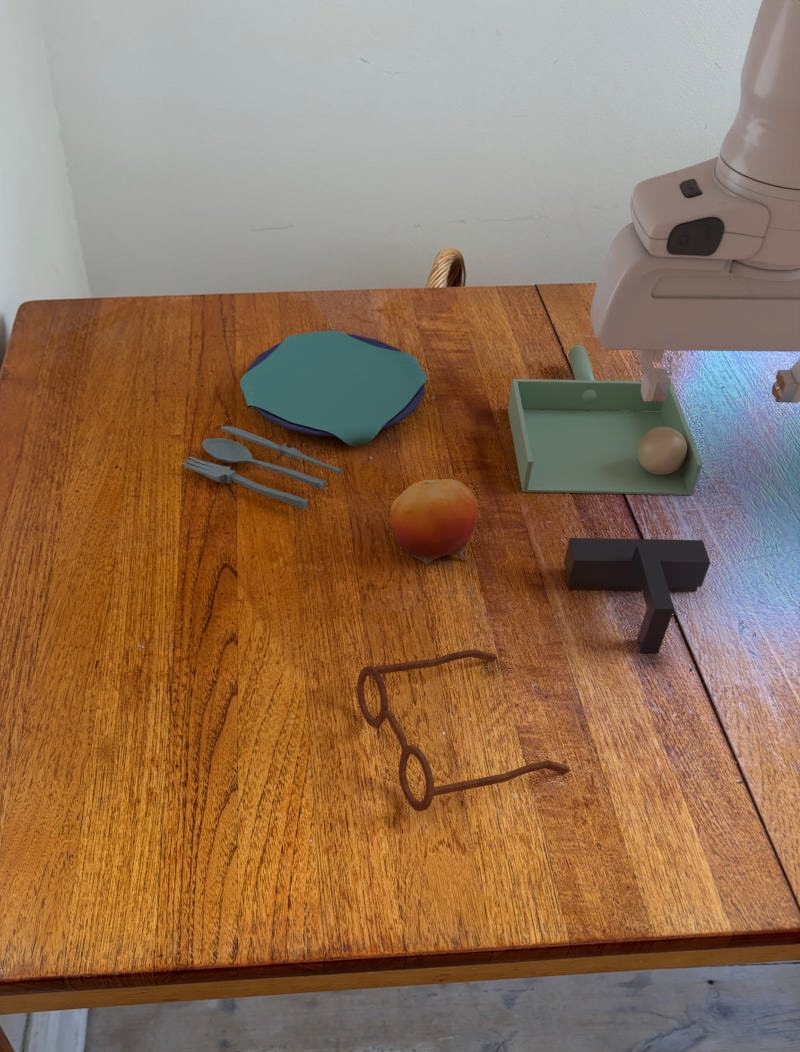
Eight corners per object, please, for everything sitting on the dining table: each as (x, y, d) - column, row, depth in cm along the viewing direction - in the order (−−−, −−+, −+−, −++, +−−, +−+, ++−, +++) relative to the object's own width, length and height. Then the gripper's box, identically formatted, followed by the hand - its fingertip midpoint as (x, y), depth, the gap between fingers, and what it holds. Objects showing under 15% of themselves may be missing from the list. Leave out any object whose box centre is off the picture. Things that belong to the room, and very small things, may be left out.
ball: (664, 409, 103) (704, 436, 103) (640, 430, 108) (678, 456, 108) (644, 445, 102) (685, 472, 102) (620, 465, 106) (659, 491, 106)
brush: (562, 568, 97) (572, 524, 93) (691, 570, 97) (707, 526, 93) (579, 651, 90) (591, 607, 86) (719, 654, 90) (738, 610, 86)
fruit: (424, 583, 93) (408, 496, 91) (387, 569, 100) (372, 488, 98) (502, 558, 95) (488, 473, 93) (461, 546, 103) (447, 467, 100)
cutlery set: (454, 379, 118) (456, 361, 117) (318, 527, 100) (318, 508, 99) (304, 330, 125) (304, 313, 123) (152, 461, 107) (150, 443, 106)
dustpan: (692, 495, 104) (702, 464, 102) (522, 492, 104) (528, 461, 102) (646, 366, 120) (654, 336, 118) (499, 363, 121) (503, 334, 118)
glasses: (352, 698, 86) (354, 658, 82) (494, 658, 89) (502, 617, 85) (418, 826, 77) (423, 787, 74) (572, 776, 81) (584, 736, 77)
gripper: (928, 187, 67) (849, 374, 77) (609, 184, 67) (571, 372, 77) (968, 232, 63) (879, 424, 73) (626, 229, 63) (584, 421, 73)
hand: (718, 397), depth 75 cm, fingers open, 8 cm apart
